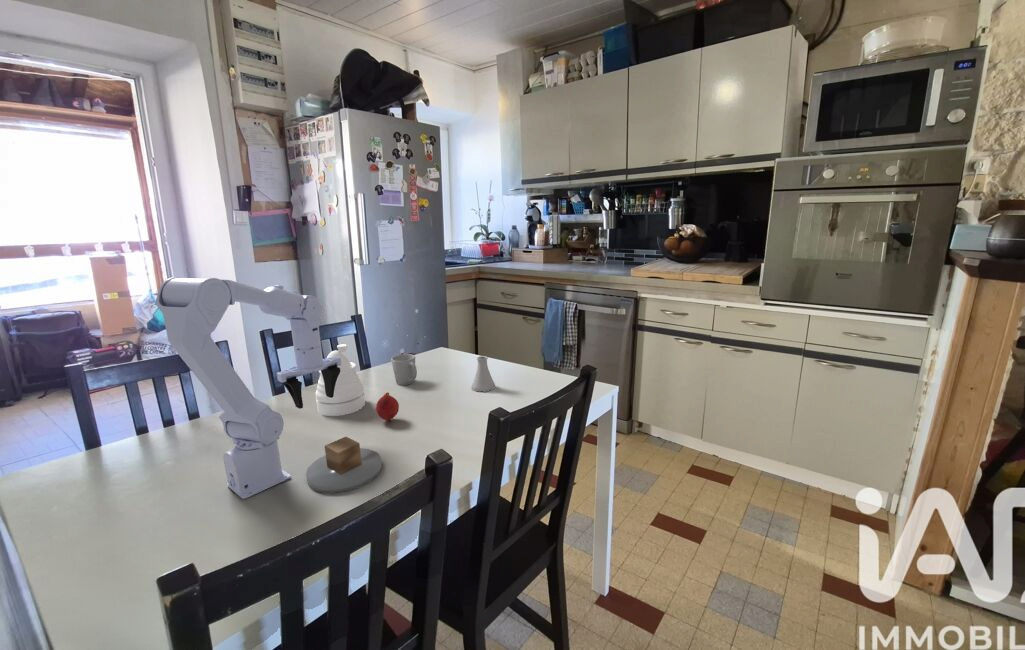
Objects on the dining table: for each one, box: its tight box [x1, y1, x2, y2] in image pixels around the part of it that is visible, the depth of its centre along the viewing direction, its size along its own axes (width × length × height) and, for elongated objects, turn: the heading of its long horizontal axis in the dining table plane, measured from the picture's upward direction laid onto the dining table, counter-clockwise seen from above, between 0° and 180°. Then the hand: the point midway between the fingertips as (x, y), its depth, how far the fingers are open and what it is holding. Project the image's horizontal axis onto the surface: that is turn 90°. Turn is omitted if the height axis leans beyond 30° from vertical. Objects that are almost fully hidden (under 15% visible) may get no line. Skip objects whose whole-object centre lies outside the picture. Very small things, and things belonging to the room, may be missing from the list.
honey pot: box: [314, 343, 366, 417], centre depth 129 cm, size 13×13×18 cm
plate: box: [305, 447, 383, 494], centre depth 98 cm, size 15×15×2 cm
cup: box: [390, 353, 418, 386], centre depth 147 cm, size 8×10×8 cm
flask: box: [470, 355, 496, 393], centre depth 142 cm, size 7×7×10 cm
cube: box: [324, 436, 362, 475], centre depth 97 cm, size 5×5×5 cm
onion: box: [375, 391, 400, 422], centre depth 121 cm, size 6×6×8 cm
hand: (315, 401), depth 109 cm, fingers open, 7 cm apart
